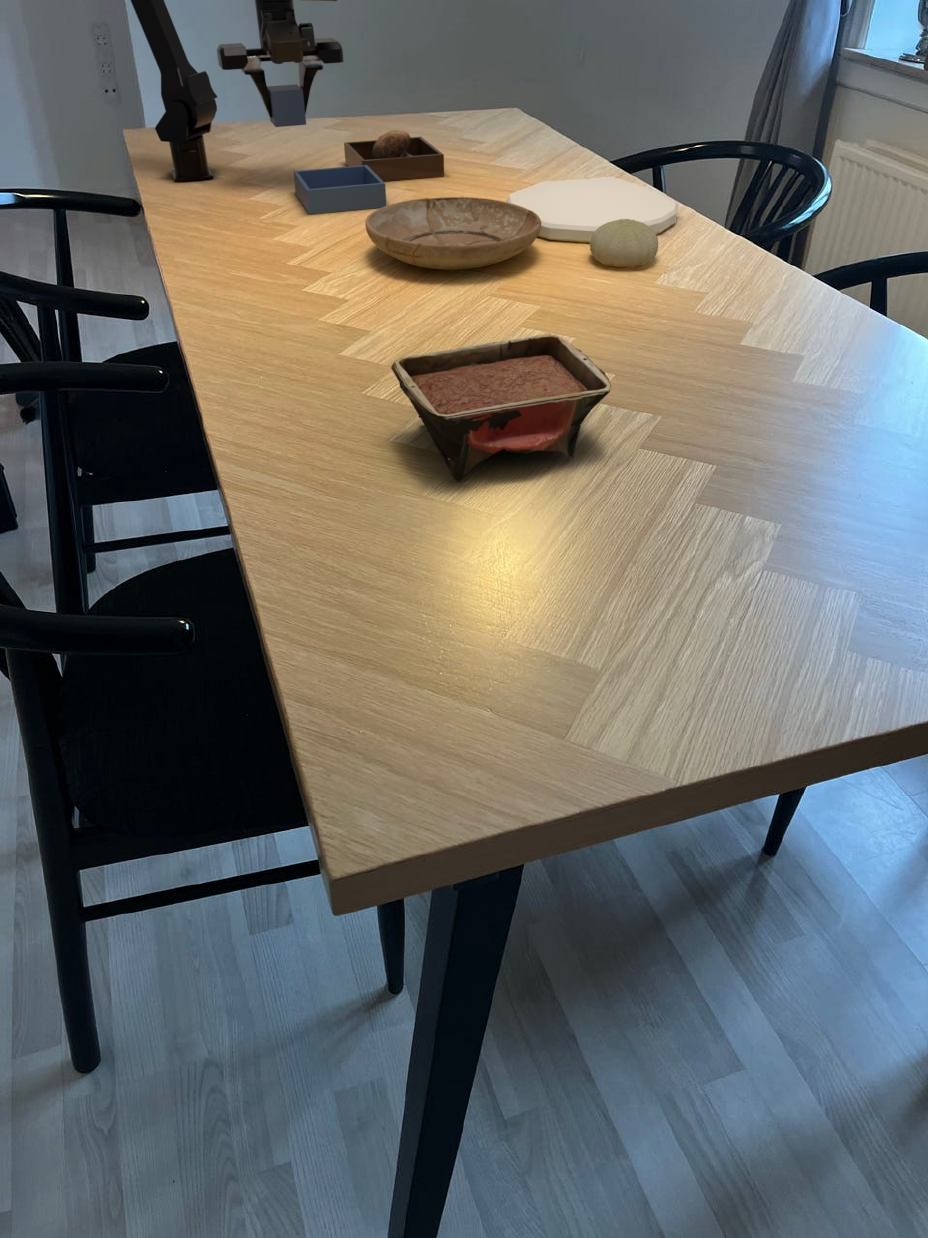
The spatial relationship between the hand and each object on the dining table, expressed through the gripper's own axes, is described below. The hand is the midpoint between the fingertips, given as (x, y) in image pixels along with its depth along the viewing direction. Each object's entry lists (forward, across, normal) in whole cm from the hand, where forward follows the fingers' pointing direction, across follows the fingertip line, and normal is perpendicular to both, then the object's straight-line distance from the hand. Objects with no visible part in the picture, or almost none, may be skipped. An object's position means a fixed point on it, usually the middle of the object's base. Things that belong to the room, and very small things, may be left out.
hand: (287, 115), depth 152 cm
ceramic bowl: (+11, +14, -44) cm, 47 cm away
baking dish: (+11, +2, -96) cm, 96 cm away
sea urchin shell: (+11, +35, -53) cm, 64 cm away
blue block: (+1, 0, 0) cm, 1 cm away
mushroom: (+10, +18, +4) cm, 21 cm away
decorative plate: (+11, +39, -34) cm, 53 cm away
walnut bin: (+10, +18, +4) cm, 21 cm away
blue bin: (+10, +5, -12) cm, 16 cm away
